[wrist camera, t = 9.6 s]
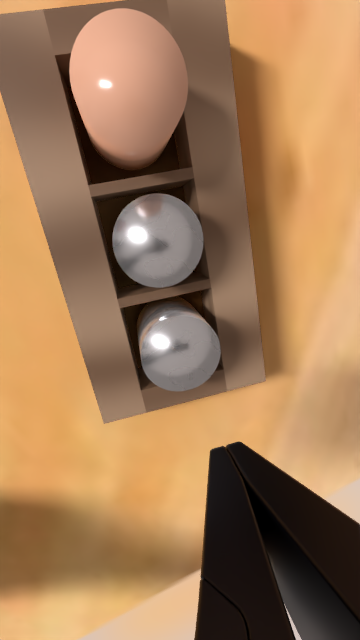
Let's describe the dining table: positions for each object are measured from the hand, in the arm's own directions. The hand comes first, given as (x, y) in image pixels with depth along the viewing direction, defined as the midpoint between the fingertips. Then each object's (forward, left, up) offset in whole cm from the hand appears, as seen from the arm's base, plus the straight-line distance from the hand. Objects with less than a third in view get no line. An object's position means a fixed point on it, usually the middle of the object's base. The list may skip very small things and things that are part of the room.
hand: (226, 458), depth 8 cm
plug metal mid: (+5, 0, -12) cm, 13 cm away
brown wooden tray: (+5, 0, -12) cm, 13 cm away
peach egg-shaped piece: (+11, 0, -11) cm, 15 cm away
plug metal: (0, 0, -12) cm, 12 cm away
